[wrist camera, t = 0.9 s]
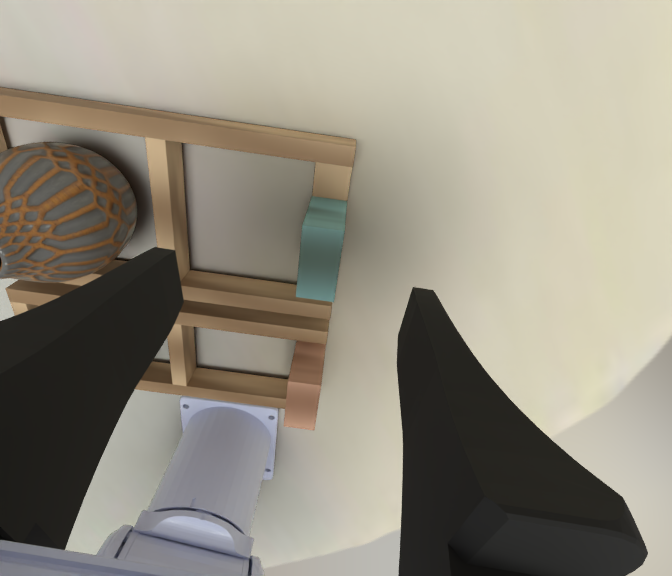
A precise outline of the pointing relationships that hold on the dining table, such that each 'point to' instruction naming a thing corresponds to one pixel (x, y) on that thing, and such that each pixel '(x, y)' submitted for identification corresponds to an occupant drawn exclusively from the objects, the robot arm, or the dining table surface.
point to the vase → (61, 212)
